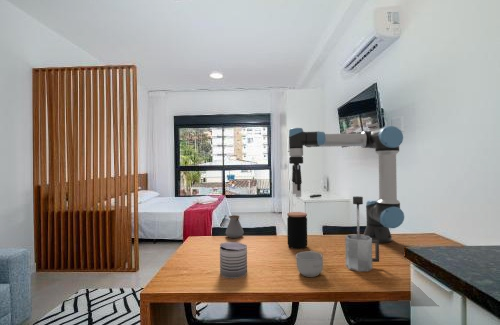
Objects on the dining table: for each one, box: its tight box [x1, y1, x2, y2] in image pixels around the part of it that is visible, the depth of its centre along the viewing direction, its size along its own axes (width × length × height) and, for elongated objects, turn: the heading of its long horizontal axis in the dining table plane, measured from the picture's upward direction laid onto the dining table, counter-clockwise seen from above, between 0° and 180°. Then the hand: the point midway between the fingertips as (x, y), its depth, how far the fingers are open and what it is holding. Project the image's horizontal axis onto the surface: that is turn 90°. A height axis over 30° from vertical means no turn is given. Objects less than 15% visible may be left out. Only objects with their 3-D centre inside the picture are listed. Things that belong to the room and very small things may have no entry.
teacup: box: [295, 250, 324, 278], centre depth 116 cm, size 14×11×8 cm
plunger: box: [352, 196, 364, 240], centre depth 122 cm, size 8×8×20 cm
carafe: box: [344, 233, 380, 273], centre depth 122 cm, size 14×10×13 cm
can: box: [219, 241, 248, 279], centre depth 117 cm, size 11×11×12 cm
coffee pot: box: [224, 214, 245, 239], centre depth 171 cm, size 21×12×15 cm, turn 12°
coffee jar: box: [286, 211, 308, 250], centre depth 153 cm, size 11×11×18 cm
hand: (296, 195), depth 153 cm, fingers open, 13 cm apart
